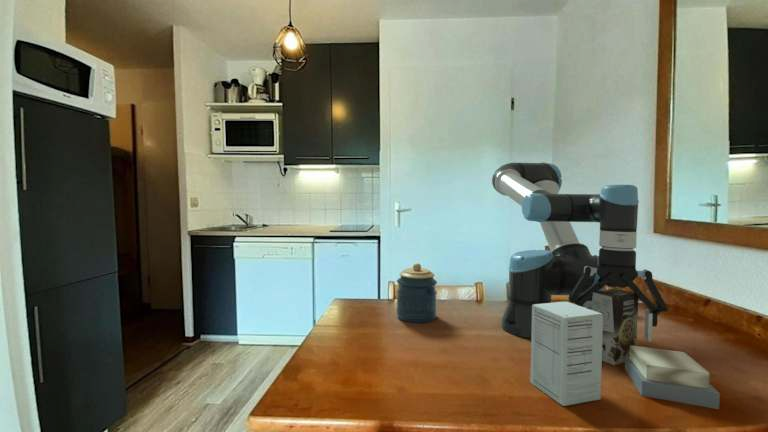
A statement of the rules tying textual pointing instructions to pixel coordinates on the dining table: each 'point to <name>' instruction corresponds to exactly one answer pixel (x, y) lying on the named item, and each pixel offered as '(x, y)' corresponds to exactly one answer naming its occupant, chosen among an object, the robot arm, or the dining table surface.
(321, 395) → the dining table surface
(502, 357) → the dining table surface
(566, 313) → the supplement box
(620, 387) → the dining table surface
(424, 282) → the canister
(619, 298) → the coffee box
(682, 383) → the birch top slab
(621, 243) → the robot arm
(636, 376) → the grey base slab
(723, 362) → the dining table surface
